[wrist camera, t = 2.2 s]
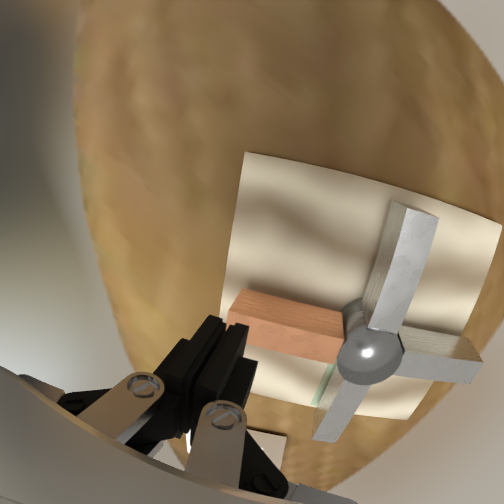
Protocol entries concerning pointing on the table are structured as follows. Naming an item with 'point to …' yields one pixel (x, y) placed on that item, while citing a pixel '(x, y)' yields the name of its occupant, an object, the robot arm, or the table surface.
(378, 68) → the table surface
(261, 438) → the bracket
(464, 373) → the capstan
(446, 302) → the base plate
